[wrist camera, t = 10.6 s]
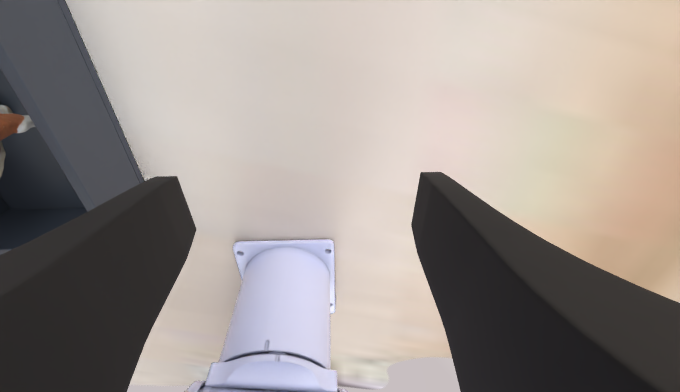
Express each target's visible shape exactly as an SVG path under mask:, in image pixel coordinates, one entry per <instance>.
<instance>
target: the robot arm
mask: <svg viewBox="0 0 680 392" xmlns="http://www.w3.org/2000/svg"><path fill="white" fill-rule="evenodd" d="M411 225H412V230H413V235H414V240H415V244H416V249H417V253H418V256H419V259H420V262H421V264H422V267H423V270H424V273H425V276H426V278H427V281H428V284H429V286H430V289H431V292H432V295H433V297H434V300H435V303H436V305H437V308H438V311H439V314H440V316H441V319H442V322H443V325H444V328H445V332H446V335H447V338H448V342H449V346H450V350H451V354H452V358H453V362H454V366H455V370H456V374H457V378H458V382H459V386H460V391H461V392H680V303H678V302H676V301H673V300H670V299H668V298H666V297H663V296H661V295H659V294H656V293H654V292H651V291H649V290H647V289H644V288H642V287H640V286H637V285H635V284H633V283H631V282H628V281H626V280H624V279H622V278H620V277H618V276H615V275H613V274H611V273H609V272H607V271H604V270H602V269H600V268H598V267H596V266H594V265H592V264H590V263H588V262H586V261H584V260H581V259H579V258H578V257H576V256H574V255H572V254H570V253H568V252H566V251H564V250H562V249H561V248H559V247H557V246H555V245H553V244H551V243H549V242H547V241H546V240H544V239H542V238H540V237H539V236H537V235H535V234H533V233H532V232H530V231H529V230H527V229H525V228H524V227H522V226H520V225H519V224H517V223H516V222H514V221H512V220H511V219H509V218H508V217H506V216H505V215H503V214H502V213H500V212H499V211H497V210H496V209H494V208H493V207H491V206H490V205H488V204H487V203H485V202H484V201H482V200H481V199H480V198H478V197H477V196H475V195H474V194H473V193H471V192H470V191H468V190H467V189H465V188H464V187H463V186H461V185H460V184H458V183H457V182H456V181H454V180H453V179H451V178H450V177H448V176H447V175H445V174H443V173H442V172H421V174H420V179H419V185H418V191H417V196H416V202H415V207H414V213H413V219H412V224H411ZM195 232H196V227H195V224H194V222H193V219H192V216H191V213H190V211H189V208H188V205H187V202H186V200H185V197H184V194H183V192H182V189H181V186H180V183H179V181H178V178H177V176H170V177H154V178H152V179H149V180H147V181H145V182H143V183H141V184H138V185H136V186H135V187H133V188H131V189H129V190H127V191H125V192H123V193H121V194H119V195H117V196H116V197H114V198H112V199H110V200H108V201H106V202H105V203H103V204H101V205H99V206H97V207H95V208H93V209H92V210H90V211H88V212H86V213H84V214H82V215H80V216H79V217H77V218H75V219H73V220H71V221H69V222H67V223H65V224H63V225H61V226H59V227H57V228H55V229H53V230H51V231H49V232H47V233H45V234H43V235H41V236H39V237H37V238H35V239H33V240H31V241H29V242H27V243H25V244H23V245H21V246H19V247H16V248H14V249H12V250H10V251H8V252H6V253H3V254H1V255H0V392H127V389H128V386H129V384H130V381H131V378H132V376H133V373H134V370H135V368H136V365H137V362H138V360H139V357H140V355H141V352H142V349H143V347H144V344H145V342H146V340H147V338H148V335H149V333H150V331H151V329H152V327H153V325H154V323H155V321H156V319H157V317H158V315H159V313H160V311H161V309H162V307H163V305H164V303H165V301H166V299H167V297H168V295H169V293H170V291H171V289H172V287H173V285H174V283H175V281H176V279H177V277H178V275H179V273H180V271H181V269H182V267H183V265H184V263H185V261H186V259H187V256H188V253H189V251H190V248H191V245H192V242H193V238H194V235H195ZM326 249H330V250H326ZM233 251H234V254H235V258H236V262H237V265H238V269H239V272H240V276H241V279H242V284H241V287H240V290H239V294H238V297H237V301H236V304H235V308H234V311H233V314H232V318H231V321H230V325H229V328H228V332H227V335H226V339H225V342H224V345H223V349H222V352H221V356H220V359H219V362H213V363H211V366H210V370H209V373H208V376H207V379H206V381H195V382H194V383H192V384H191V385H190V386H189V388H188V389H187V390H185V391H184V392H348V391H347V390H346V389H338V388H337V371H336V370H331V366H330V314H333V313H334V312H335V263H334V242H333V241H332V240H329V239H322V240H277V241H238V242H235V243H234V245H233ZM239 251H242V252H239Z"/></svg>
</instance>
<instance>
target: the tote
mask: <svg viewBox="0 0 680 392" xmlns="http://www.w3.org/2000/svg"><path fill="white" fill-rule="evenodd" d="M0 105H6V106H8V107H9V108H10V109H11V110H12V112H13V114H20V115H29V117H30V118H31V120H32V122H33V123H34V125H35V127H32V128H30V129H29V130H27V131H26V132H23V133H13V134H11V135H10V136H8V137H6V138H4V139H2V145H3V148H4V150H5V153H6V156H5V159H4V169H3V172H2V176H1V178H0V255H1V254H3V253H6V252H8V251H10V250H12V249H14V248H16V247H19V246H21V245H23V244H25V243H27V242H29V241H31V240H33V239H35V238H37V237H39V236H41V235H43V234H45V233H47V232H49V231H51V230H53V229H55V228H57V227H59V226H61V225H63V224H65V223H67V222H69V221H71V220H73V219H75V218H77V217H79V216H80V215H82V214H84V213H86V212H88V211H90V210H92V209H93V208H95V207H97V206H99V205H101V204H103V203H105V202H106V201H108V200H110V199H112V198H114V197H116V196H117V195H119V194H121V193H123V192H125V191H127V190H129V189H131V188H133V187H135V186H136V185H138V184H141V183H143V182H144V179H143V177H142V175H141V173H140V170H139V168H138V166H137V163H136V161H135V159H134V157H133V154H132V152H131V150H130V148H129V145H128V143H127V141H126V138H125V136H124V134H123V132H122V129H121V127H120V125H119V123H118V120H117V118H116V116H115V113H114V111H113V109H112V107H111V104H110V102H109V100H108V98H107V95H106V93H105V91H104V88H103V86H102V84H101V82H100V79H99V77H98V75H97V73H96V70H95V68H94V66H93V63H92V61H91V59H90V57H89V54H88V52H87V50H86V48H85V45H84V43H83V41H82V38H81V36H80V34H79V32H78V29H77V27H76V25H75V23H74V20H73V18H72V16H71V13H70V11H69V9H68V7H67V4H66V2H65V0H0Z"/></svg>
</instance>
